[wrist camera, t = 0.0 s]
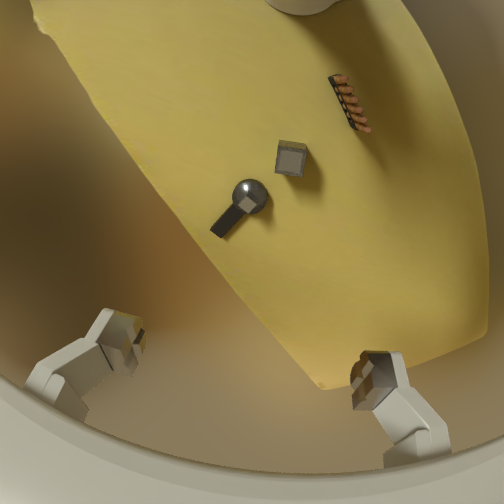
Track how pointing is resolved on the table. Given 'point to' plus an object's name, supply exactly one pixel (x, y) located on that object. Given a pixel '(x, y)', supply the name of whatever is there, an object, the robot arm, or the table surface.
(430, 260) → the table surface
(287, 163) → the socket
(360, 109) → the ammunition clip
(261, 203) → the ratchet
